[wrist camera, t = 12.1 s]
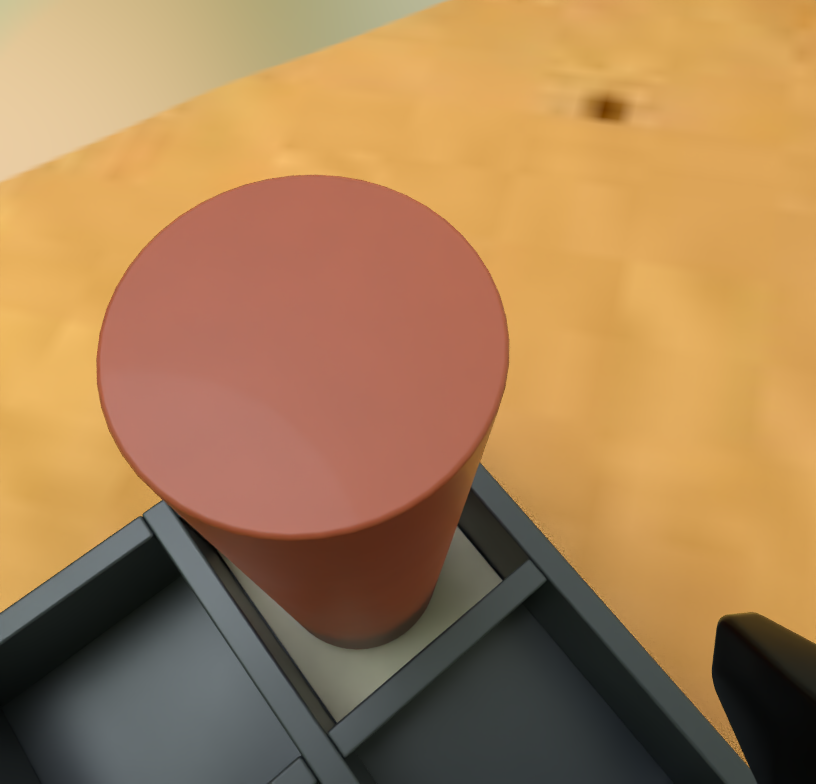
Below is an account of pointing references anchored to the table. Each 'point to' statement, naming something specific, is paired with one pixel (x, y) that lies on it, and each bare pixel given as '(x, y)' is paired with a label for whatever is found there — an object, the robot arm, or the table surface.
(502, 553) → the grid
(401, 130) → the table surface
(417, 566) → the reddish brown cylinder
